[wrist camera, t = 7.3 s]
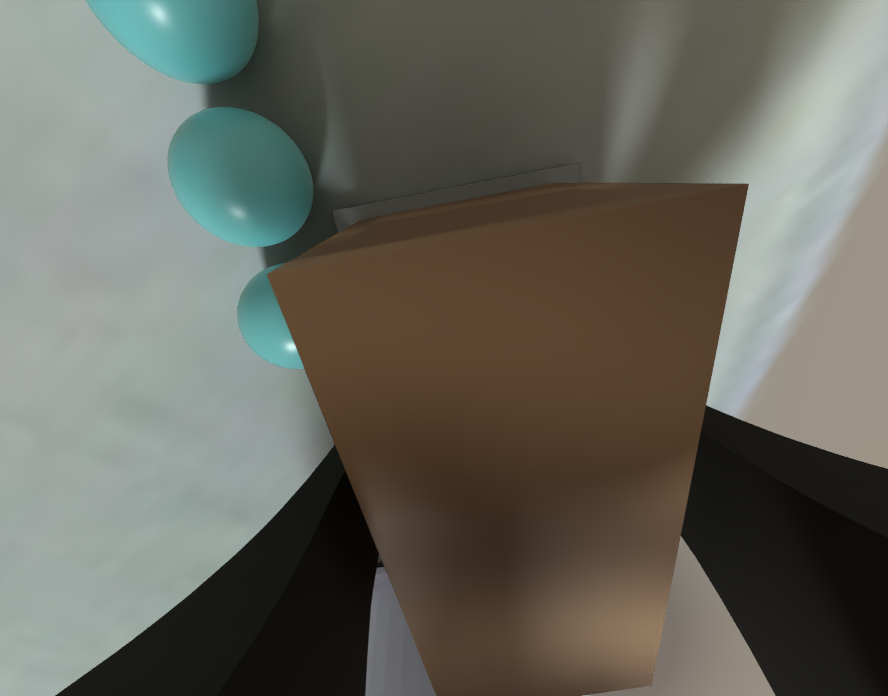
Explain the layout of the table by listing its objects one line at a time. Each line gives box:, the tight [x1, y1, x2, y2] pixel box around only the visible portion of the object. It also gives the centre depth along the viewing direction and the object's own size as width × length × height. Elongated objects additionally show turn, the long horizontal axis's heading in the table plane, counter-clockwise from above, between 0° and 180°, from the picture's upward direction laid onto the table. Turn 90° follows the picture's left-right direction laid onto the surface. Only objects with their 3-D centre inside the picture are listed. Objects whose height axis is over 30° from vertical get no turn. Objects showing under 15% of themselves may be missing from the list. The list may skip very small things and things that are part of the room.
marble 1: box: [168, 107, 313, 247], centre depth 8 cm, size 3×3×3 cm
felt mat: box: [332, 163, 580, 233], centre depth 13 cm, size 13×7×1 cm, turn 10°
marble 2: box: [237, 263, 304, 369], centre depth 10 cm, size 3×3×3 cm
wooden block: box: [267, 183, 749, 696], centre depth 9 cm, size 12×6×6 cm, turn 10°
